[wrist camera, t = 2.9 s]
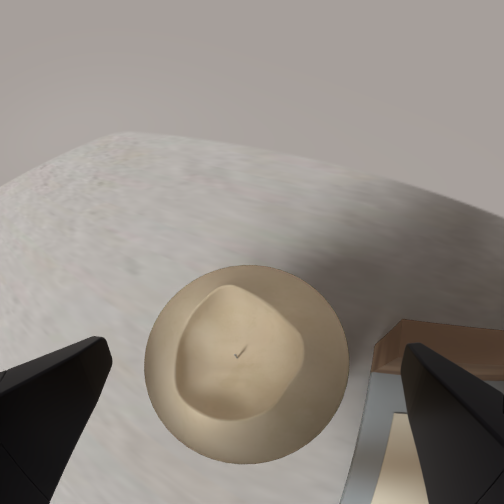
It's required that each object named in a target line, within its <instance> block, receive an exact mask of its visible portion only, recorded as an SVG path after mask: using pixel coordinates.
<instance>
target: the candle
mask: <svg viewBox="0 0 504 504" xmlns="http://www.w3.org/2000/svg"><path fill="white" fill-rule="evenodd" d="M144 372H145V382H146V387H147V391H148V395H149V398H150V400H151V403H152V405H153V408H154V409H155V411H156V413H157V415H158V417H159V418H160V420H161V421H162V423H163V424H164V425H165V427H166V428H167V429H168V430H169V431H170V432H171V433H172V434H173V435H174V436H175V437H176V438H177V439H178V440H179V441H180V442H182V443H183V444H184V445H186V446H187V447H188V448H190V449H192V450H194V451H195V452H197V453H199V454H201V455H203V456H206V457H208V458H211V459H214V460H218V461H222V462H226V463H234V464H257V463H264V462H269V461H273V460H276V459H279V458H282V457H285V456H287V455H289V454H291V453H293V452H295V451H297V450H299V449H300V448H302V447H303V446H305V445H307V444H308V443H309V442H310V441H312V440H313V439H314V438H315V437H316V436H317V435H319V434H320V433H321V431H322V430H323V429H324V428H325V427H326V426H327V425H328V423H329V422H330V421H331V419H332V417H333V416H334V414H335V413H336V411H337V409H338V407H339V405H340V403H341V401H342V399H343V396H344V392H345V389H346V386H347V381H348V374H349V352H348V345H347V340H346V337H345V333H344V330H343V328H342V325H341V323H340V321H339V318H338V317H337V315H336V313H335V312H334V310H333V309H332V307H331V306H330V305H329V303H328V302H327V301H326V300H325V298H324V297H323V296H322V295H321V294H320V293H319V292H318V291H316V290H315V289H314V288H313V287H312V286H310V285H309V284H308V283H306V282H305V281H303V280H301V279H300V278H298V277H296V276H294V275H292V274H290V273H287V272H284V271H282V270H279V269H275V268H271V267H265V266H257V265H241V266H232V267H227V268H223V269H219V270H216V271H213V272H210V273H207V274H205V275H203V276H201V277H199V278H197V279H196V280H194V281H192V282H191V283H189V284H188V285H186V286H185V287H184V288H183V289H181V290H180V291H179V292H178V293H177V294H176V295H175V296H174V297H173V298H172V299H171V300H170V301H169V302H168V303H167V304H166V306H165V307H164V308H163V310H162V311H161V313H160V314H159V316H158V318H157V319H156V321H155V323H154V325H153V328H152V330H151V332H150V335H149V339H148V342H147V346H146V352H145V362H144Z"/></svg>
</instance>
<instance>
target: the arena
mask: <svg viewBox="0 0 504 504" xmlns="http://www.w3.org/2000/svg"><path fill="white" fill-rule="evenodd" d="M416 342H420V343H422V344H424V345H425V346H427V347H429V348H430V349H432V350H434V351H435V352H437V353H439V354H440V355H442V356H444V357H445V358H447V359H448V360H450V361H452V362H453V363H455V364H457V365H458V366H460V367H462V368H463V369H465V370H467V371H468V372H470V373H471V374H473V375H475V376H476V377H478V378H480V379H481V380H483V381H484V382H486V383H488V384H489V385H491V386H493V387H494V388H496V389H497V390H499V391H501V392H502V393H503V395H504V330H494V329H484V328H474V327H465V326H456V325H447V324H438V323H430V322H422V321H414V320H407V319H402V320H401V321H400V322H399V323H398V324H397V325H396V326H395V327H394V328H393V329H392V330H391V331H390V332H389V333H388V334H386V335H385V336H384V337H383V338H382V339H381V340H380V341H379V342H378V343H377V344H376V345H375V347H374V354H373V361H372V367H371V373H370V379H369V385H368V390H367V396H366V401H365V406H364V411H363V416H362V421H361V425H360V430H359V434H358V438H357V442H356V447H355V451H354V455H353V458H352V462H351V466H350V470H349V473H348V477H347V480H346V484H345V487H344V491H343V494H342V497H341V500H340V503H339V504H429V503H428V498H427V493H426V488H425V484H424V479H423V475H422V471H421V466H420V462H419V458H418V454H417V450H416V446H415V442H414V439H413V435H412V431H411V427H410V424H409V420H408V415H407V409H406V403H405V396H404V391H403V385H402V379H401V372H400V370H401V364H402V359H403V354H404V350H405V346H406V345H407V344H408V343H416Z"/></svg>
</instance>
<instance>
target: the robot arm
mask: <svg viewBox="0 0 504 504" xmlns="http://www.w3.org/2000/svg"><path fill="white" fill-rule="evenodd" d="M111 367H112V356H111V353H110V350H109V347H108V344H107V341H106V339H105V338H103V337H97V336H92V337H90V338H87V339H85V340H82V341H80V342H77V343H75V344H72V345H70V346H67V347H65V348H62V349H59V350H57V351H54V352H52V353H49V354H47V355H44V356H42V357H39V358H37V359H34V360H31V361H29V362H26V363H24V364H21V365H18V366H16V367H13V368H11V369H8V370H7V371H6V370H5V371H3V372H0V504H49V503H50V501H51V498H52V496H53V494H54V491H55V489H56V487H57V485H58V482H59V480H60V478H61V476H62V474H63V471H64V469H65V467H66V465H67V463H68V461H69V459H70V456H71V454H72V452H73V450H74V448H75V446H76V444H77V442H78V440H79V438H80V436H81V434H82V432H83V430H84V428H85V426H86V424H87V422H88V420H89V418H90V416H91V414H92V412H93V410H94V408H95V406H96V404H97V402H98V399H99V397H100V394H101V392H102V389H103V387H104V384H105V382H106V379H107V377H108V374H109V372H110V369H111ZM400 372H401V379H402V385H403V391H404V396H405V403H406V409H407V415H408V420H409V424H410V427H411V431H412V435H413V439H414V442H415V446H416V450H417V454H418V458H419V462H420V466H421V471H422V475H423V479H424V484H425V488H426V493H427V498H428V503H429V504H504V395H503V393H502V392H501V391H499V390H497V389H496V388H494V387H493V386H491V385H489V384H488V383H486V382H484V381H483V380H481V379H480V378H478V377H476V376H475V375H473V374H471V373H470V372H468V371H467V370H465V369H463V368H462V367H460V366H458V365H457V364H455V363H453V362H452V361H450V360H448V359H447V358H445V357H444V356H442V355H440V354H439V353H437V352H435V351H434V350H432V349H430V348H429V347H427V346H425V345H424V344H422V343H420V342H416V343H408V344H407V345H406V346H405V350H404V354H403V359H402V364H401V370H400Z"/></svg>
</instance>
